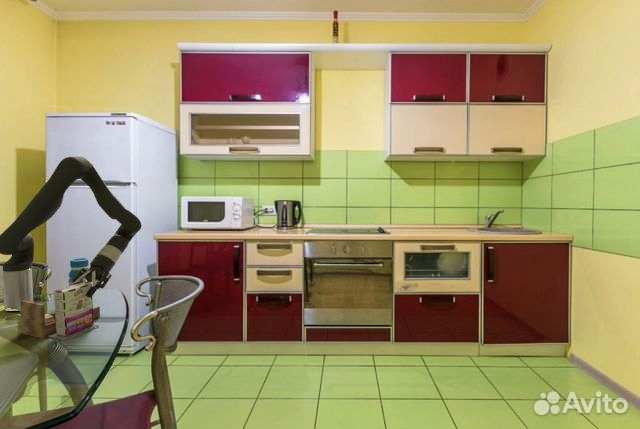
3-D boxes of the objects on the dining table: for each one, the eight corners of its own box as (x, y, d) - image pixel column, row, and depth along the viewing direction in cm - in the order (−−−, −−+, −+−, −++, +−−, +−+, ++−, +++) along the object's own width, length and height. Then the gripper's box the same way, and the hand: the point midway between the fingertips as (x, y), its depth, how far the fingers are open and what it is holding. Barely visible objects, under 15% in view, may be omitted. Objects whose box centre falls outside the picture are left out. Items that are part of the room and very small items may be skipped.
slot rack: (21, 333, 124) (20, 301, 123) (81, 312, 144) (80, 284, 143) (42, 338, 120) (41, 305, 119) (100, 316, 141) (100, 288, 140)
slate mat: (48, 337, 121) (48, 335, 121) (83, 323, 134) (83, 322, 134) (64, 341, 119) (64, 339, 119) (99, 326, 131) (98, 325, 131)
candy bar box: (83, 323, 133) (82, 281, 131) (94, 324, 131) (92, 283, 130) (54, 335, 122) (53, 290, 120) (65, 337, 121) (64, 291, 119)
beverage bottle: (68, 307, 150) (66, 262, 148) (70, 301, 157) (69, 258, 155) (91, 304, 154) (89, 260, 152) (92, 298, 161) (91, 256, 160)
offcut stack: (31, 333, 124) (31, 318, 124) (46, 327, 129) (46, 313, 128) (41, 335, 122) (41, 321, 122) (56, 330, 127) (56, 316, 127)
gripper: (87, 251, 136) (58, 287, 127) (113, 255, 132) (85, 292, 122) (99, 262, 142) (72, 297, 132) (125, 265, 137) (100, 302, 128)
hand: (79, 295), depth 127 cm, fingers open, 8 cm apart
